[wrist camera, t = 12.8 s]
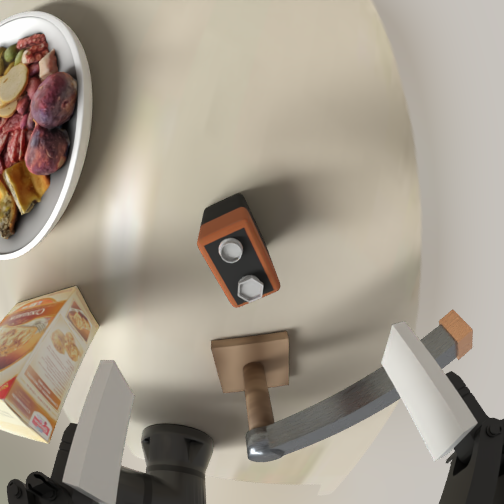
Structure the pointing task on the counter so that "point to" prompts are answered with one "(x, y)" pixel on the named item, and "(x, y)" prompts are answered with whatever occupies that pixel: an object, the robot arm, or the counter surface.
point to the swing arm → (352, 399)
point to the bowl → (40, 126)
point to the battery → (236, 251)
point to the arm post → (253, 370)
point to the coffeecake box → (41, 360)
